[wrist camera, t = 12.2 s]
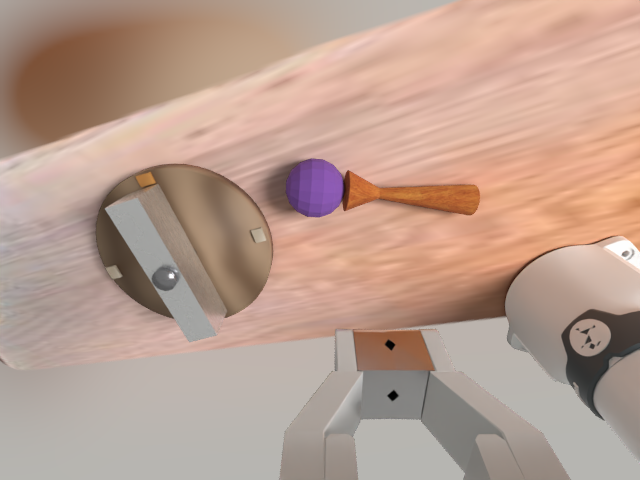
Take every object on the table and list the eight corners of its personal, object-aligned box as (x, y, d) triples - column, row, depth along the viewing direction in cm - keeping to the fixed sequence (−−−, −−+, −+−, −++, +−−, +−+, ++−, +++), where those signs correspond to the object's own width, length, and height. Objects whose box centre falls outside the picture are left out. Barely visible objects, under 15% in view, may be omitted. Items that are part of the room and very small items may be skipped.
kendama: (471, 238, 37) (283, 227, 35) (452, 208, 42) (285, 196, 40) (494, 189, 33) (286, 173, 31) (470, 162, 38) (288, 147, 36)
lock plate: (236, 141, 36) (230, 146, 34) (294, 293, 45) (292, 305, 42) (71, 190, 39) (55, 198, 37) (155, 325, 47) (146, 338, 45)
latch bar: (128, 193, 36) (100, 210, 32) (158, 183, 36) (134, 200, 31) (201, 317, 43) (187, 345, 39) (227, 310, 43) (215, 339, 38)
